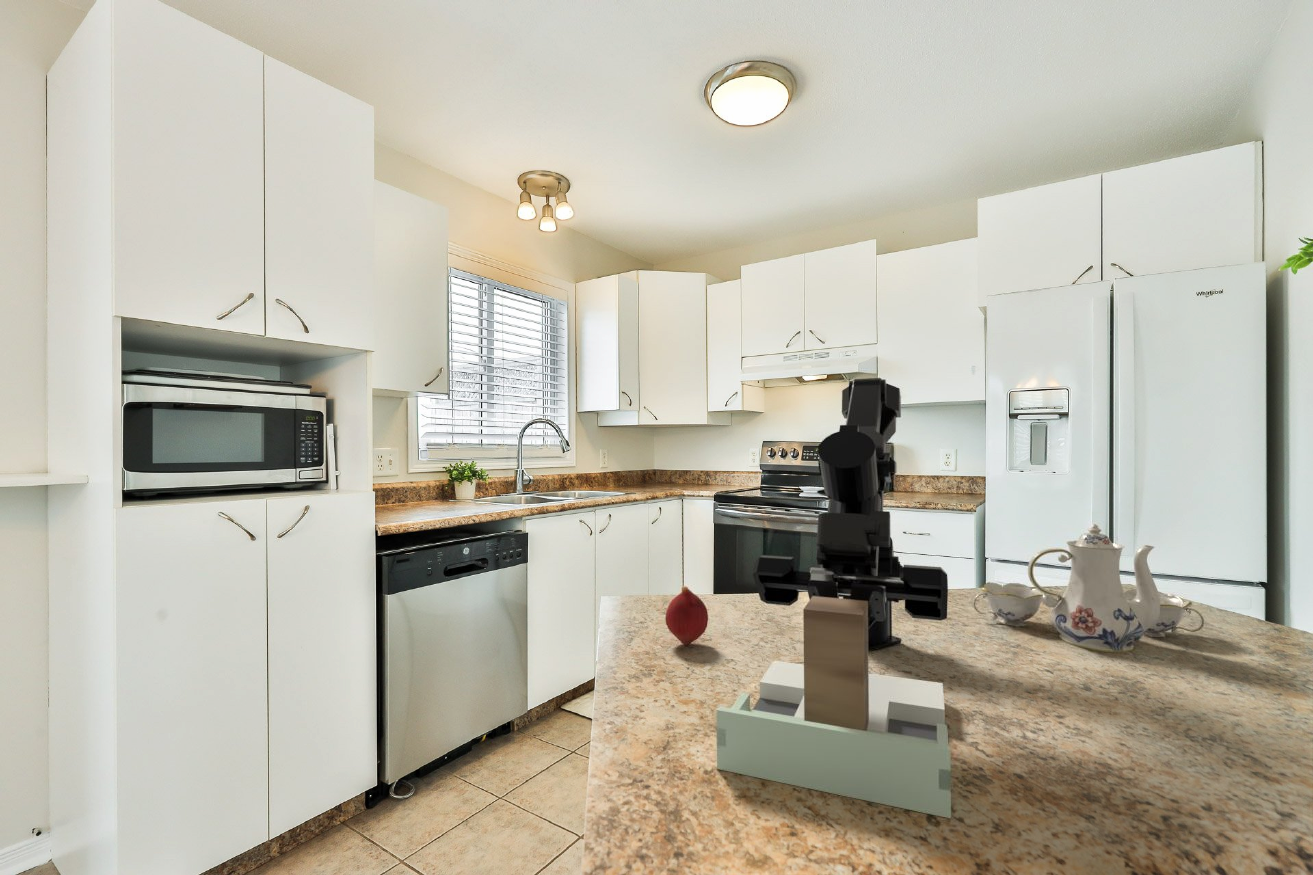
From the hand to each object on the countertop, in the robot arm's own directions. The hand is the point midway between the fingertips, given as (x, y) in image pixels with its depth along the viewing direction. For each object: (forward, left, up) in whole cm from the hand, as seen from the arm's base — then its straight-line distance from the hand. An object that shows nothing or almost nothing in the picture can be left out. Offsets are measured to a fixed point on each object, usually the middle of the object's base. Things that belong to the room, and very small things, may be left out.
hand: (840, 663), depth 59 cm
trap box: (0, 0, -7) cm, 7 cm away
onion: (-2, -30, -7) cm, 30 cm away
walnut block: (+2, +2, -5) cm, 6 cm away
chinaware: (-53, -3, -7) cm, 53 cm away
